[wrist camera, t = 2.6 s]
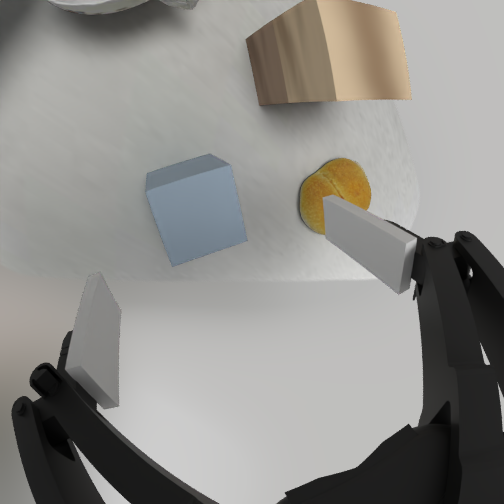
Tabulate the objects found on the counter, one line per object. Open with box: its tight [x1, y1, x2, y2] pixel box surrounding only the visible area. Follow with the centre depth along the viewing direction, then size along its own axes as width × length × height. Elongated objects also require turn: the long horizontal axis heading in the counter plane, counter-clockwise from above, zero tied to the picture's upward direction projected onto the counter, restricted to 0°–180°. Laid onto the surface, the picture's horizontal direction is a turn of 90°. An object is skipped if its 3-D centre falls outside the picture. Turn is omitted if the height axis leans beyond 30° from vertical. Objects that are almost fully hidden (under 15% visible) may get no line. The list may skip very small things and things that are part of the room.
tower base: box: [246, 21, 289, 106], centre depth 20 cm, size 7×7×6 cm
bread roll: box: [300, 158, 371, 235], centre depth 29 cm, size 8×9×4 cm
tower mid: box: [272, 0, 412, 103], centre depth 15 cm, size 7×7×6 cm
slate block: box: [145, 154, 248, 267], centre depth 22 cm, size 6×6×7 cm
